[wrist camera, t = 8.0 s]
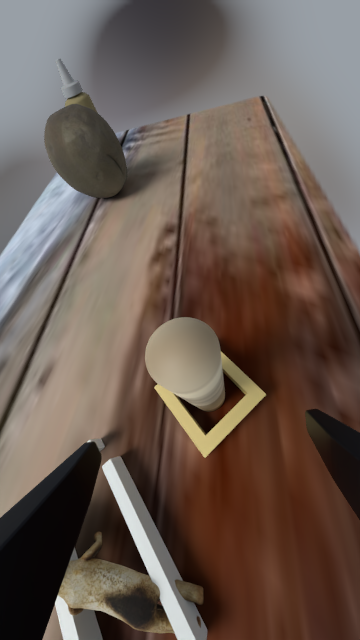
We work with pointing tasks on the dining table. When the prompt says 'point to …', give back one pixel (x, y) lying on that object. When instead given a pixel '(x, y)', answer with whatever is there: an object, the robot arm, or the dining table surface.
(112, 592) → the figurine
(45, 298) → the dining table surface
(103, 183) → the grey egg-shaped stone
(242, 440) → the dining table surface
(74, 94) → the squeeze bottle
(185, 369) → the post
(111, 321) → the dining table surface
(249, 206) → the dining table surface
